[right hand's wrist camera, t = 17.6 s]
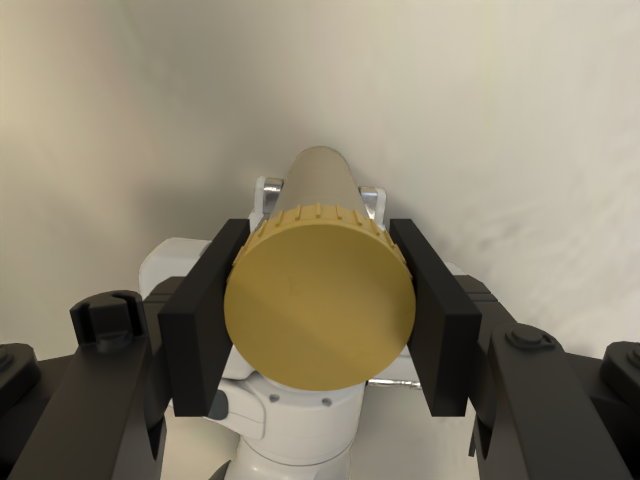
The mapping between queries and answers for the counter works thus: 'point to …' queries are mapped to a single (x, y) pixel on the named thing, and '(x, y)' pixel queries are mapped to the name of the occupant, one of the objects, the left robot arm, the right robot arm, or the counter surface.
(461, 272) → the left robot arm
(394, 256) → the lid
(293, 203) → the beige cylinder
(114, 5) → the counter surface
